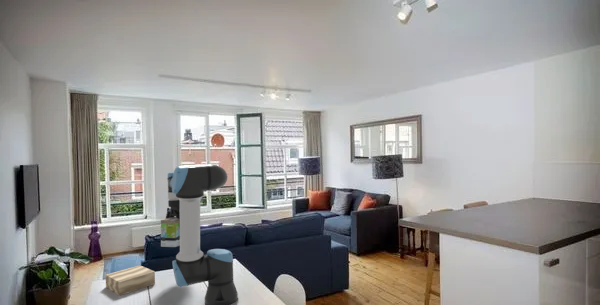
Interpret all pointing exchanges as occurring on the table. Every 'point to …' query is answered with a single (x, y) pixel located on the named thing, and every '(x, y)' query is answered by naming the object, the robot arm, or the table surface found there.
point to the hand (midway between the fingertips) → (176, 237)
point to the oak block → (130, 279)
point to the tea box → (170, 232)
